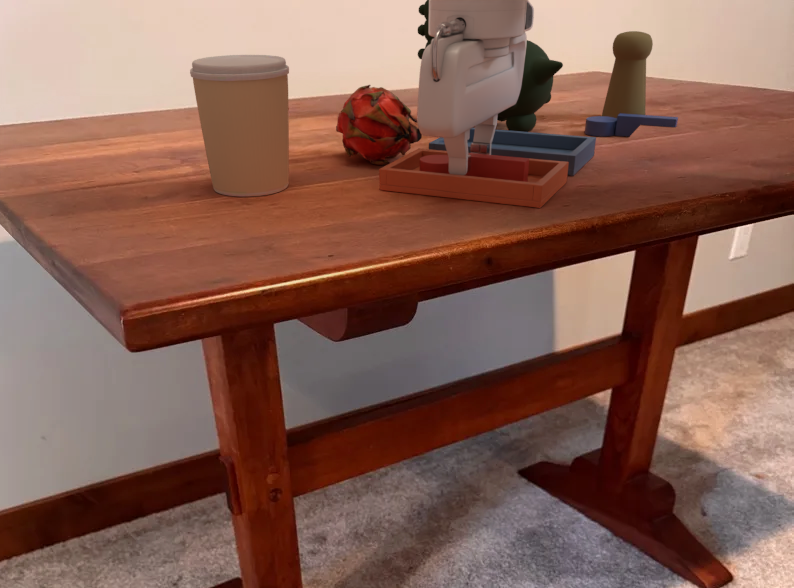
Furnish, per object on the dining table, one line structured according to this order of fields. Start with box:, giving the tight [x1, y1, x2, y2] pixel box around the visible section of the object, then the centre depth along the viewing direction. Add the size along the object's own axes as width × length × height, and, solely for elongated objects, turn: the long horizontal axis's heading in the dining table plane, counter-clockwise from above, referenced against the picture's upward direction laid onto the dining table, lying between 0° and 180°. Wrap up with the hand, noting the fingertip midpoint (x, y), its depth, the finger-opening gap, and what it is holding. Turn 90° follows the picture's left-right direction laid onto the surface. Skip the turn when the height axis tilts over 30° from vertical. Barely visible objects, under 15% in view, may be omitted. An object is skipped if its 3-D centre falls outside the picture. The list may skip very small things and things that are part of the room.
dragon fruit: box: [335, 84, 423, 166], centre depth 90 cm, size 8×8×12 cm
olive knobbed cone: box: [601, 30, 654, 119], centre depth 110 cm, size 6×6×11 cm
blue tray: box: [428, 127, 597, 177], centre depth 91 cm, size 17×10×2 cm, turn 65°
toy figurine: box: [417, 0, 564, 132], centre depth 103 cm, size 9×19×25 cm
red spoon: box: [420, 153, 529, 182], centre depth 80 cm, size 11×4×2 cm, turn 65°
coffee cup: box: [189, 54, 290, 197], centre depth 79 cm, size 9×9×12 cm
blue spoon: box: [584, 113, 679, 138], centre depth 101 cm, size 11×4×2 cm, turn 65°
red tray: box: [378, 148, 569, 209], centre depth 81 cm, size 17×10×2 cm, turn 65°
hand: (470, 167), depth 80 cm, fingers open, 5 cm apart
